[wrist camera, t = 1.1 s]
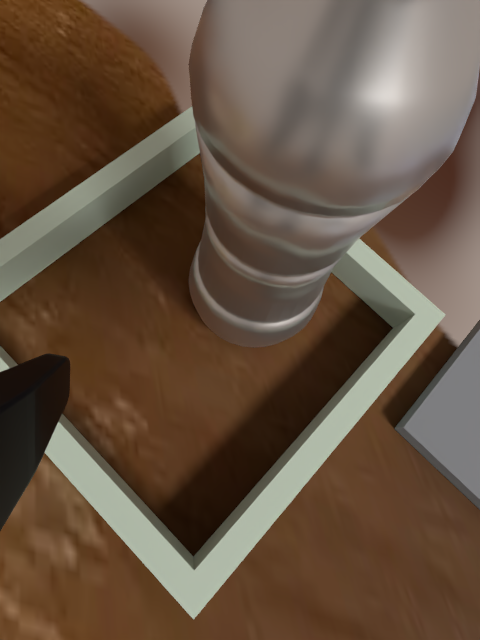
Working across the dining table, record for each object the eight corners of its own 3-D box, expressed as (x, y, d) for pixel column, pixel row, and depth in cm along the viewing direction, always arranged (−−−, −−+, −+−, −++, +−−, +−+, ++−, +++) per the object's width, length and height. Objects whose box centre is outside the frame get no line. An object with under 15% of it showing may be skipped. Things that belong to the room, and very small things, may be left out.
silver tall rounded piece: (297, 368, 23) (839, -59, 4) (175, 342, 22) (113, -272, 3) (312, 264, 25) (711, -343, 6) (201, 238, 24) (250, -495, 6)
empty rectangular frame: (192, 598, 19) (193, 619, 16) (-60, 318, 21) (-91, 301, 19) (420, 328, 24) (445, 314, 22) (200, 131, 27) (201, 99, 24)
